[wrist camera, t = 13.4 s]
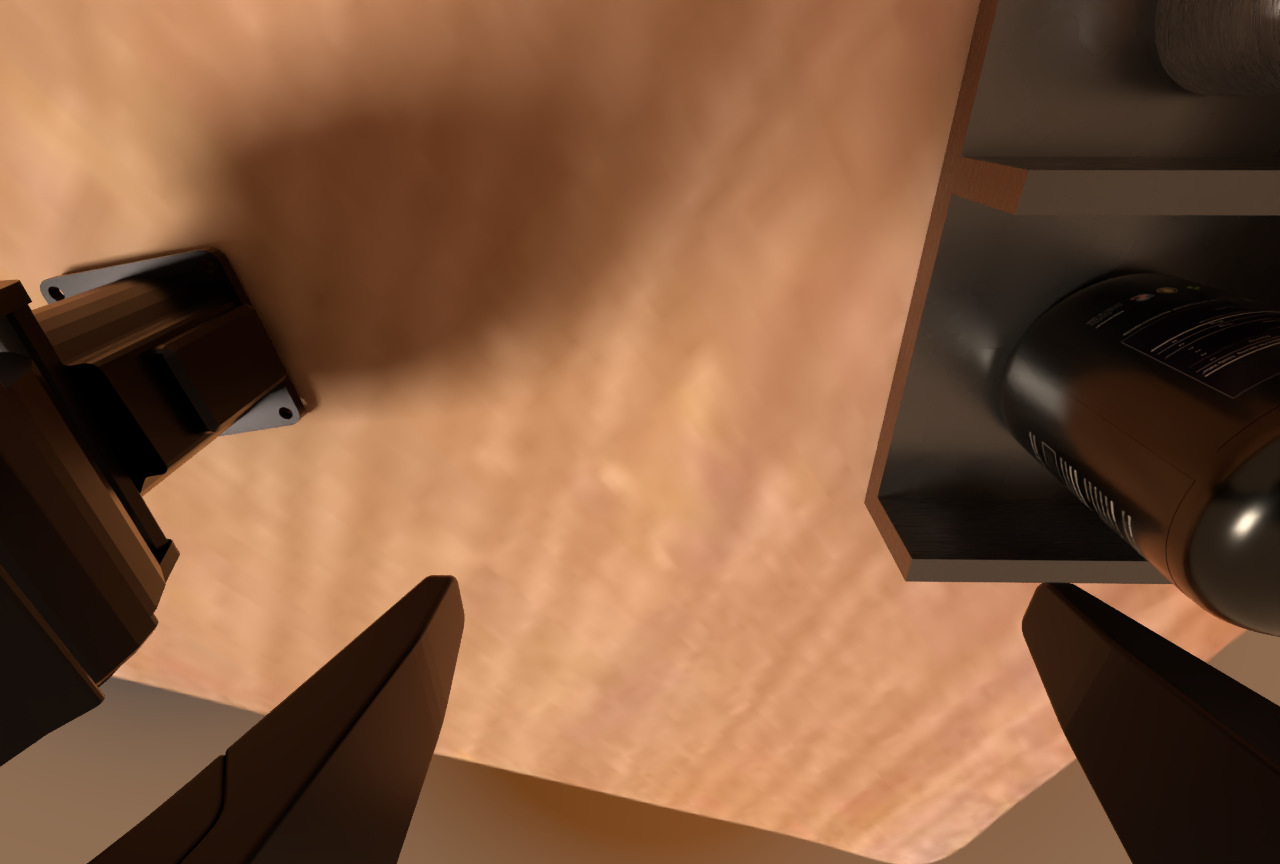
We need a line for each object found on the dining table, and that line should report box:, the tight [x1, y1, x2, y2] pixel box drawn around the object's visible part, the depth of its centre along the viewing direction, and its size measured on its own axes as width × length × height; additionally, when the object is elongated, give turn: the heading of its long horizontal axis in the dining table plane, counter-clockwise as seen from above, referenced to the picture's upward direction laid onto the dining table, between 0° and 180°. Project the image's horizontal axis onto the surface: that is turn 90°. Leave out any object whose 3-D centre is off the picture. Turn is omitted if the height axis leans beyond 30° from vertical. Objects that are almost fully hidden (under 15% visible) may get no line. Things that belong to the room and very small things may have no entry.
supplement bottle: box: [1000, 273, 1280, 637], centre depth 15 cm, size 7×7×12 cm
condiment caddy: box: [864, 0, 1280, 584], centre depth 15 cm, size 13×22×8 cm, turn 0°
